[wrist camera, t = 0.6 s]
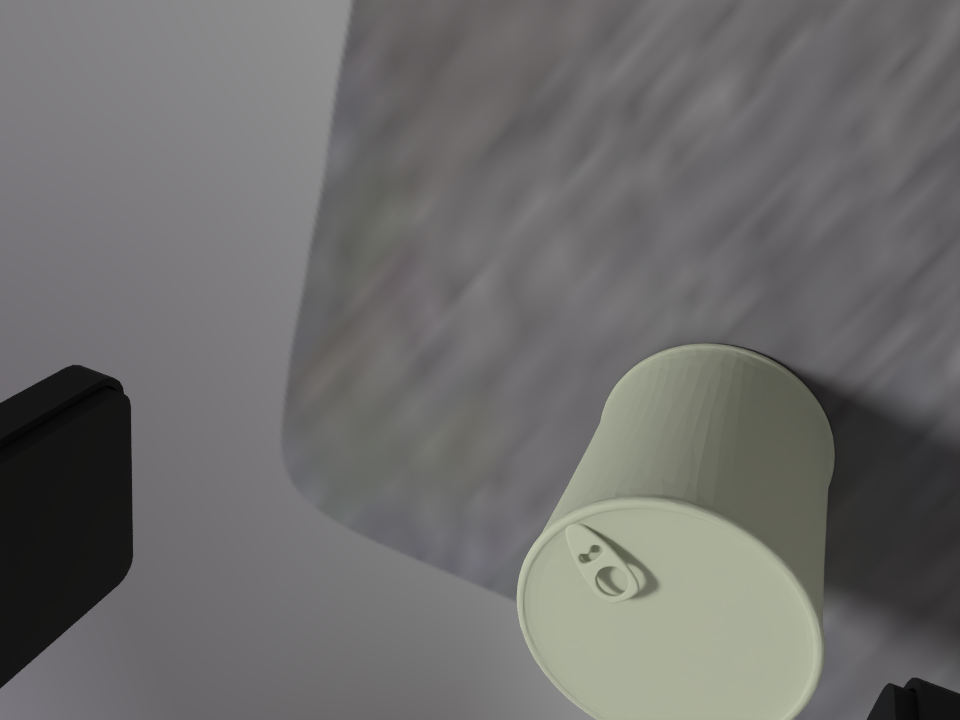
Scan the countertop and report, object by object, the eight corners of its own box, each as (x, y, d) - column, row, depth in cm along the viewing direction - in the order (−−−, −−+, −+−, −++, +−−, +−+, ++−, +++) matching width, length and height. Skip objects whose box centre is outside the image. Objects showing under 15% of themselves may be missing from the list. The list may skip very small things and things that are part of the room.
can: (734, 296, 34) (683, 451, 24) (885, 480, 35) (899, 706, 25) (557, 417, 39) (451, 589, 29) (693, 576, 40) (637, 798, 29)
